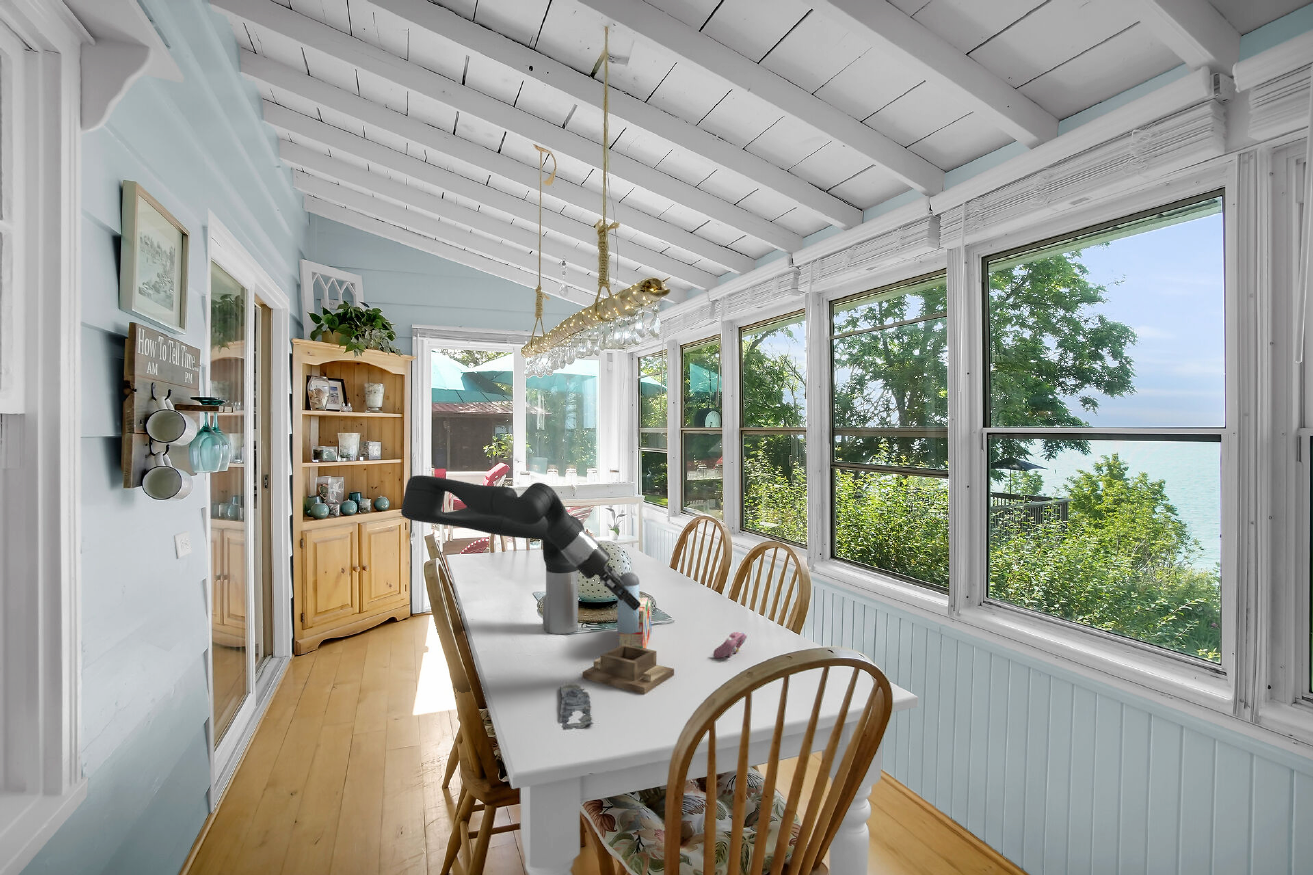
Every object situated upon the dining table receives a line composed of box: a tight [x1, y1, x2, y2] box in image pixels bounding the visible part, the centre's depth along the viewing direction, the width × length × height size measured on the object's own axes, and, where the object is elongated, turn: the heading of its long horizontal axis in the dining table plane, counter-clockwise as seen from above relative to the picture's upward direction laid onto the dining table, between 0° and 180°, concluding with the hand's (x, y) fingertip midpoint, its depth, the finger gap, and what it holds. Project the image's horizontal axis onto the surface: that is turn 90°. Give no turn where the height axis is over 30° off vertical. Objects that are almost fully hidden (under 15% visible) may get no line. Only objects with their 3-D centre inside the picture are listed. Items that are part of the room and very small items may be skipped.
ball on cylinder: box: [616, 572, 640, 634], centre depth 149 cm, size 5×5×14 cm
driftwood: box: [558, 683, 594, 730], centre depth 133 cm, size 21×7×2 cm, turn 8°
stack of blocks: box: [618, 597, 652, 649], centre depth 172 cm, size 21×6×12 cm, turn 175°
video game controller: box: [713, 630, 747, 659], centre depth 164 cm, size 10×5×7 cm, turn 149°
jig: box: [582, 644, 675, 695], centre depth 149 cm, size 17×13×6 cm
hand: (636, 603), depth 149 cm, fingers closed on ball on cylinder, 5 cm apart
